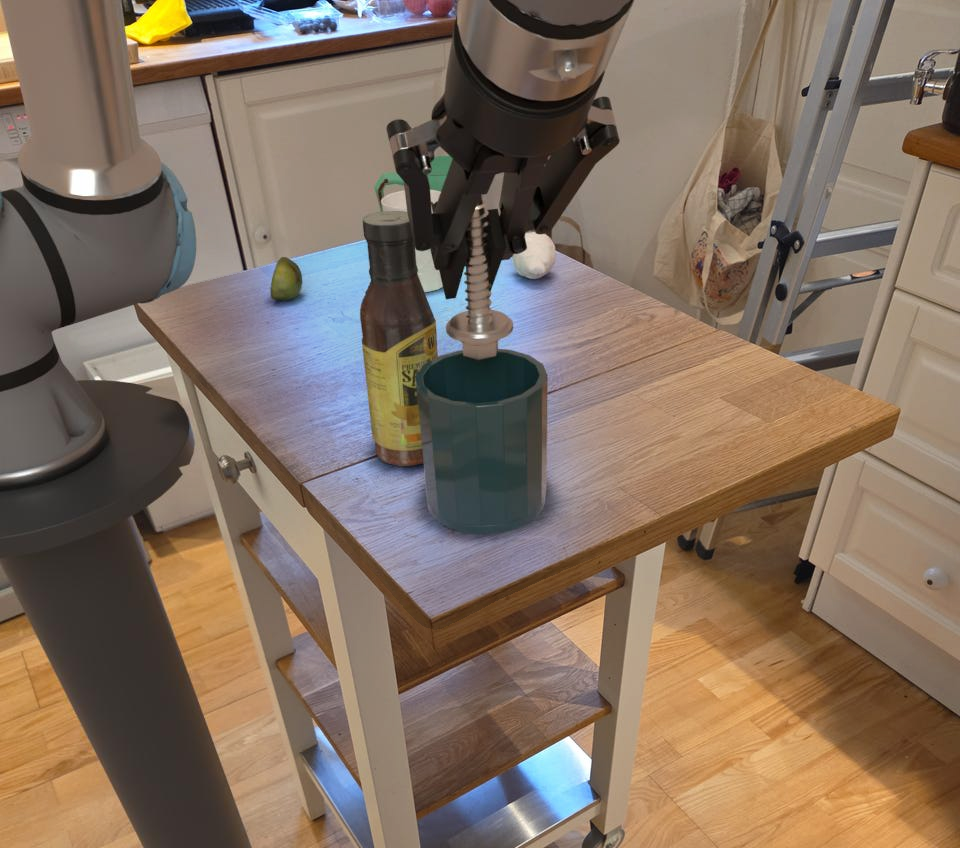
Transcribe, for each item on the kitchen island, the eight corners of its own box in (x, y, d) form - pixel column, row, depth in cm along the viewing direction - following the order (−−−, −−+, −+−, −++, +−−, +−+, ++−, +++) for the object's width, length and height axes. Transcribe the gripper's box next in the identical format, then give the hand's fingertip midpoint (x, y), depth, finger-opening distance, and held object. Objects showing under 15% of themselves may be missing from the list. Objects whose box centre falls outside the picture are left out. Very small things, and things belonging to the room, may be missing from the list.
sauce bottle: (420, 476, 76) (396, 236, 63) (361, 461, 79) (326, 226, 65) (458, 442, 80) (443, 210, 67) (401, 428, 83) (375, 202, 70)
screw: (474, 334, 67) (526, 348, 65) (434, 357, 64) (487, 372, 62) (464, 143, 58) (524, 151, 56) (418, 160, 55) (479, 169, 53)
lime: (275, 309, 106) (266, 267, 103) (265, 296, 110) (257, 255, 106) (310, 302, 108) (303, 260, 104) (300, 290, 111) (293, 248, 108)
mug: (481, 230, 126) (478, 152, 119) (491, 252, 119) (488, 171, 112) (379, 239, 125) (370, 161, 118) (383, 262, 117) (374, 180, 111)
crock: (407, 491, 75) (393, 368, 67) (506, 458, 78) (503, 338, 71) (462, 548, 68) (454, 418, 61) (568, 510, 71) (572, 383, 64)
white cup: (451, 270, 114) (446, 187, 107) (453, 293, 108) (448, 205, 101) (390, 274, 114) (381, 191, 107) (389, 297, 108) (380, 210, 101)
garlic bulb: (516, 292, 107) (515, 245, 104) (511, 274, 112) (510, 229, 108) (560, 289, 108) (561, 242, 104) (553, 272, 112) (554, 227, 108)
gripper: (395, 128, 40) (374, 342, 63) (698, 94, 43) (571, 312, 66) (360, -27, 40) (352, 243, 63) (662, -51, 43) (549, 217, 66)
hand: (464, 278), depth 65 cm, fingers closed on screw, 2 cm apart
